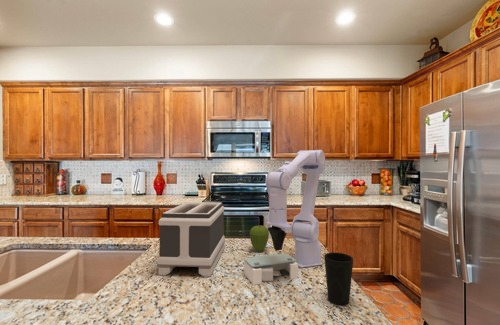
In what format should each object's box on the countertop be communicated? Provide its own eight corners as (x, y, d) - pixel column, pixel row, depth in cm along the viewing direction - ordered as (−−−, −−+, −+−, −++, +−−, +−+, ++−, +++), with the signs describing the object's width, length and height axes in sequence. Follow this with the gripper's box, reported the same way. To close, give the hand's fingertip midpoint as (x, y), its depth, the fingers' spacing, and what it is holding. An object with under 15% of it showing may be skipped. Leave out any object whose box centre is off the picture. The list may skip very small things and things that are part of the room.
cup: (350, 310, 67) (350, 264, 67) (320, 302, 71) (320, 258, 71) (355, 298, 73) (355, 255, 74) (328, 291, 77) (328, 250, 78)
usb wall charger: (258, 276, 87) (258, 264, 87) (279, 276, 88) (279, 264, 88) (259, 282, 83) (259, 269, 83) (281, 281, 84) (281, 269, 84)
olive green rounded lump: (258, 246, 120) (258, 221, 120) (272, 250, 114) (273, 224, 114) (245, 251, 113) (245, 224, 114) (259, 255, 108) (260, 227, 108)
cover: (285, 254, 95) (285, 252, 95) (295, 261, 88) (295, 258, 88) (244, 259, 90) (244, 257, 90) (251, 267, 83) (251, 264, 83)
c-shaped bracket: (285, 267, 95) (285, 255, 95) (298, 277, 87) (298, 263, 87) (244, 273, 90) (244, 260, 90) (253, 285, 81) (253, 270, 81)
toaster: (226, 246, 120) (226, 200, 121) (210, 278, 86) (211, 214, 87) (187, 245, 122) (187, 200, 122) (156, 276, 87) (157, 214, 88)
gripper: (258, 205, 91) (258, 244, 91) (277, 212, 77) (277, 258, 77) (276, 204, 93) (276, 242, 93) (297, 211, 80) (297, 255, 80)
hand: (278, 249), depth 85 cm, fingers closed
